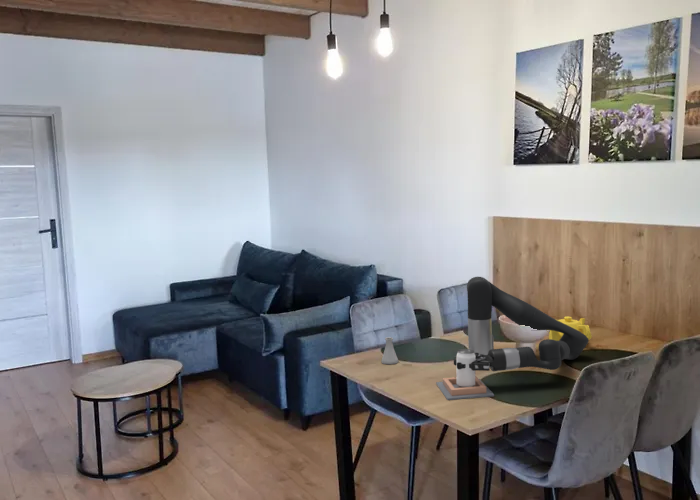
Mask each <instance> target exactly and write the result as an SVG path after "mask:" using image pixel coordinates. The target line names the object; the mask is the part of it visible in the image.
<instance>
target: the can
mask: <svg viewBox="0 0 700 500" xmlns="http://www.w3.org/2000/svg"><path fill="white" fill-rule="evenodd" d="M455 359H456V367H455V368H456V370H455V371H456V375H455V377H456V383H457V385H458V386H460V387H473V386H474V385H475V376H476V371H473V370H472V369H471V368H469V364H471V363H472V362H473V361H474V360H475V354H474V351H473V350H471V349H469V348H460V349H458V350H457V353H456V358H455ZM458 362H460V363H462V364H466V368H462V369H457V363H458Z"/></svg>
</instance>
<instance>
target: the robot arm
mask: <svg viewBox="0 0 700 500" xmlns="http://www.w3.org/2000/svg"><path fill="white" fill-rule="evenodd" d="M466 292H467V293H466V294H467V335H468V337H467V338H468V339H467V340H468V342H467V343H468V344H467V345H468V349H471V350H473V351H474V354H475V360H474V361H473V362H472V363H471V364H469V368H471V369H472V370H473V371H475V372H476V371H479V372H482V371H485V372H486V371H487V372H489V371H490V370H491V371H492V372H500V371H501V372H502V371H510V370H515V369H521V368H538V369H539V368H540V369H544V370H549V371H555V370H558V369H559V368H561V366H562V361H563V360H570V361H571V360H576V359H577V358H579V356H581V353H582V352H583V351H584V349H585V348H586V347H587V345H588V344H589V341H590V339H588V338H587V336H585V335H584V334H583V333H581V332H580V331H578V330H576V329H574V328H572V327H570V326H568V325H566V324H564V323H562V322H560V321H558V320H559V319H556V318H554V317H552V316H550V315H549V314H548V313H545V312H544V311H542V310H540V309H539V308H537V307H536V306H533V305H531V304H530V303H528V302H526V301H524V300H522V299H521V298H519V297H516V296H514V295H512V294H510V293H507V292H506V291H503V290H502V289H500V288H499V287H498V286H496V285H494V284H493V283H492V282H490V281H489V280H487V279H486V278H485V277H483V276H474V277H471V278H470V279H469V280H468V282H467V283H466ZM492 307H493V308H495V309H496V310H498V311H499V312H500V313H501V314H503V315H504V316H505V317H506V318H508V319H509V320H510V321H512V322H513V323H514V324H516V325H518V326H520V325H525V326H530V327H531V328H533V329H537V330H536V331H547V330H553V331H557V332H561V333H563V336H562V337H561V339H560V340H559V341H556V340H552V339H549V338H548V339H542V340H541V341H540V342H539V343H538V354H539V359H538V358H537V357H536V354H535V351H534V349H533V348H532V347H531V346H522V347H521V346H520V347H504V348H501V347H500V348H495V347H494V346H495V345H494V343H495V341H494V340H495V339H494V335H493V333H492V328H493V327H492V326H493V325H492V324H493V323H492V313H493V309H492ZM453 365H454V366H456V358H454V359H453ZM462 368H466V364H462V363H460V362H458V363H457V369H462Z"/></svg>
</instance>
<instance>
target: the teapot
mask: <svg viewBox="0 0 700 500" xmlns="http://www.w3.org/2000/svg"><path fill="white" fill-rule="evenodd" d="M557 320H558V321H560V322H562V323H564V324H566V325H568V326H570V327H572V328H574V329H576V330H578V331H580V332H581V333H583V334H584V335H585V336H587V338H588V339H589V340H591V339H592V338H593V337H592V336H593V335H592V333H591V329H590V326H589V325H588V324H585V323H586V318H584V317H581V318H579V320H577V319H573V317H572V316H568V315H567V316H566V315H565V316H564V317H563V318H562V319H557ZM562 336H563V333H561V332H557V331H553V330H550V332H549V333H548V339H552V340H556V341H559V340H560V339H561V337H562Z"/></svg>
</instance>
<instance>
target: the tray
mask: <svg viewBox="0 0 700 500" xmlns="http://www.w3.org/2000/svg"><path fill="white" fill-rule="evenodd" d="M435 385H436V386H437V387H438V389H439V390H440V391H441V393H442V394H443V396H444V397H445V398H446V400H447V401H453V400H464V399H466V400H467V399H476V398H477V399H479V398H489V397H490V398H491V397H495V394H494V393H493V391H492V390H490V388H489V387H487V385H486V384H485V383H484V382H483V381H482V380H481V378H479V377H477V375H475V385H474V386H473V387H460V386H458V385H457V383H456V376H455V377H443V378H442V381H436V382H435Z"/></svg>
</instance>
